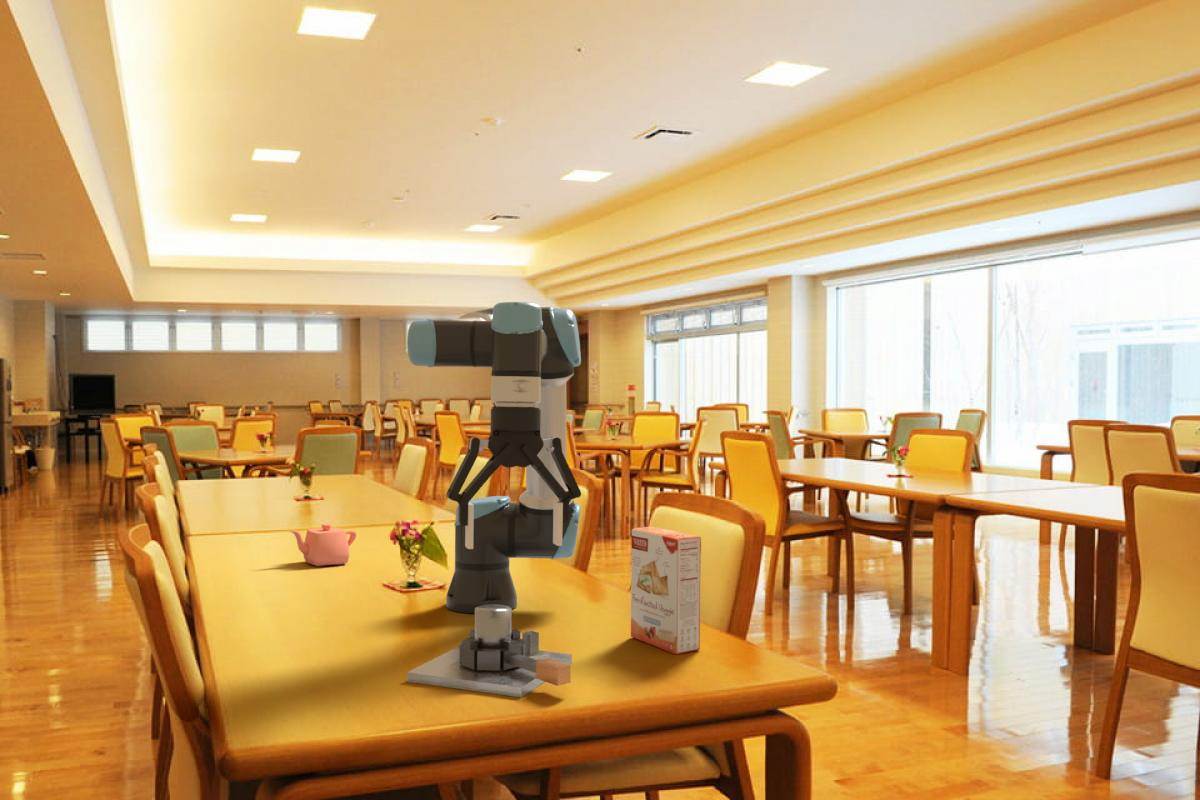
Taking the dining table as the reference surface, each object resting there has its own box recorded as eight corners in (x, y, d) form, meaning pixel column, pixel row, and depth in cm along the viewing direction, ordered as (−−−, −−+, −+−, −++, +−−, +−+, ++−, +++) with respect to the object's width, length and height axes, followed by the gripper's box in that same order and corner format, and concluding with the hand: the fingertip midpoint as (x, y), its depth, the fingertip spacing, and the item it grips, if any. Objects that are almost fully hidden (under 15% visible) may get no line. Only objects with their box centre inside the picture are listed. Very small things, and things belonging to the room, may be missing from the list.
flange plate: (407, 681, 152) (407, 615, 152) (467, 650, 171) (468, 591, 170) (521, 697, 145) (522, 628, 145) (571, 662, 164) (572, 601, 163)
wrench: (448, 660, 158) (448, 634, 158) (497, 649, 165) (498, 624, 165) (538, 692, 142) (538, 664, 141) (588, 678, 149) (589, 651, 149)
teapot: (363, 564, 252) (364, 524, 252) (295, 570, 242) (295, 529, 242) (348, 557, 262) (349, 519, 262) (282, 563, 252) (282, 524, 252)
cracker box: (628, 638, 181) (630, 527, 180) (653, 634, 184) (655, 525, 184) (674, 655, 169) (676, 537, 169) (701, 651, 172) (702, 535, 172)
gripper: (436, 404, 137) (434, 553, 137) (602, 406, 144) (600, 547, 145) (429, 404, 144) (427, 545, 144) (587, 405, 152) (585, 539, 152)
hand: (513, 546), depth 144 cm, fingers open, 13 cm apart
